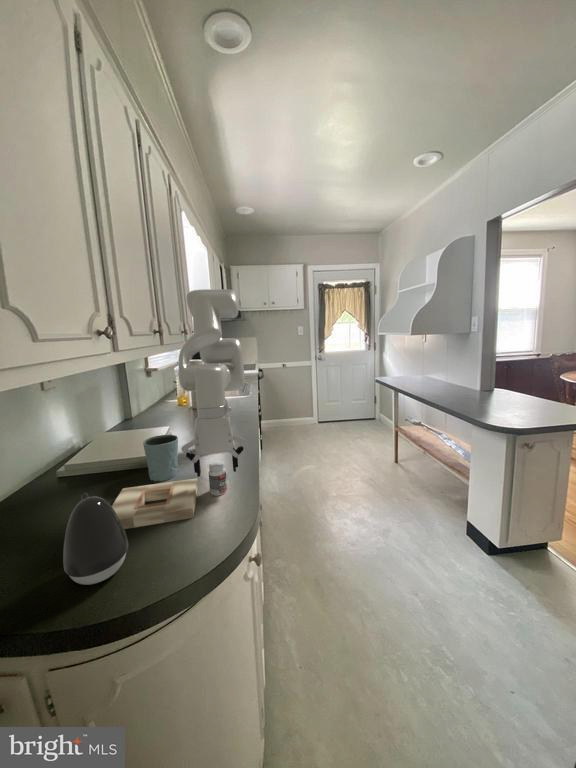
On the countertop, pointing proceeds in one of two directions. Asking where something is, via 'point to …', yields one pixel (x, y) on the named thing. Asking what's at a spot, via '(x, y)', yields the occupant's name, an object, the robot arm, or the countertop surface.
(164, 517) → the socket plate
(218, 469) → the pill bottle
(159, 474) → the blue green cup
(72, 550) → the dark rounded oval
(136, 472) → the countertop surface
